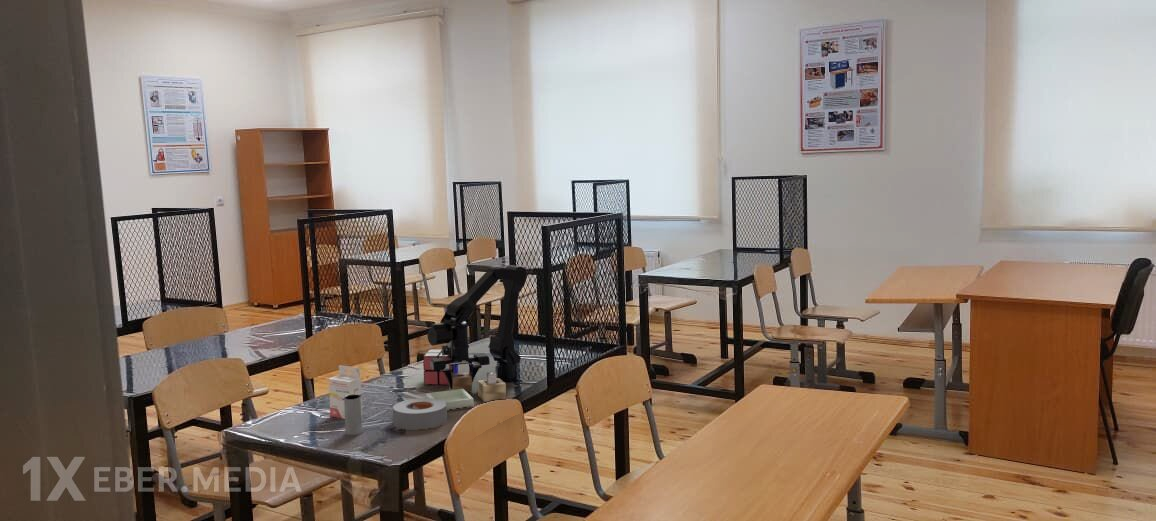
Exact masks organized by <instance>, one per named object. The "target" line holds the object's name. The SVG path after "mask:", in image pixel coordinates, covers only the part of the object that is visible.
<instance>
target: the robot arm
mask: <svg viewBox="0 0 1156 521" xmlns="http://www.w3.org/2000/svg"><path fill="white" fill-rule="evenodd" d="M527 278H528V271H527V270H526V268H525V267H523V266H520V265H514V264H512V265H511V264H509V265H506V266H505V267H500V266H499V267H497V266H496V267H495V266H489V267H488V268H487V269H486V271H485V273H484V274H483V275H481V277H479V279H478V280H477V281H476V282H475V283H474V284H473V285H472V286H471V287H470V288H469V289H468V290H467V291H466V293H465V294H463V295H461V296H458V297H457V298H455V299H454V300H453V301H451V302H449V303H448V305H447V306H446V311H445V313H444V315H443V316H442V318H441V320H440V322H438V323H431V324H430V328H429V329H428V331H427V333H426V334H427V340H428V343H429V344H430V345H431V346H432V347H433V346H440V345H441V350H442V356H444V355H447V356H448V358H451V360H444V359H443V358H433V359H431V360H430V367H431V368H432V369H433V370H434V371H437V370H440V371H441V372H444V374H445V376H446V378H447V381H448V383H449V385H448V387H449V386H450V388H451V389H452V374H451V369H450V368H449V366H451V365H458V366H459V365H466V364H468V369H469V372H468V374H469V375H470V376H471V377H472V383H473V382H474V380H475V377H476V376H477V374H478V371H479V369H482V366H489V365H490V362H491V361H490V357H489V356H488V355H487V353H484V352H483V353H475V354H474V353H473V356H471V357H470V356H469V348H470V346H469V327H473V326H474V323H473V322H472V321H471V320H470V318H471V315H473V313H474V311H475V308H476V305H477V304H478V302H479V301H481V299H482V298H483V297H484V296H485V294H487V293H488V292H489V291H490V290H491V288H492V287H494V285H495V284H496V283H497V282H498V281H499V280H502V285H503V289H504V293H503V298H502V299H503V300H502V304H501V305H502V306H501V310H500V317H499V323H498V328H497V332H496V334H494V335H491V336H490V337H489V345H488V347H487V348H489V354H490V355H491V356H492V359H493V361H494V362H496V366H495V369H494V370H495V372H496V378H499V379H501V380H502V381H503V382H504V383H507V382H515V381H519V380H520V379H519V378H518V364H520V362H521V358H522V357H521V356H520V354H519V353H517V352H516V351H515V339H514V337H513V330H514V325H515V318H516V312H517V307H518V301H519V296H520V292H521V291H522V290H523V288H524V287H525V285H526V283H527ZM444 344H447V345H444ZM448 344H449V345H448Z"/></svg>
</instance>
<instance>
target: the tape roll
mask: <svg viewBox="0 0 1156 521" xmlns="http://www.w3.org/2000/svg"><path fill="white" fill-rule="evenodd" d="M447 412H448V410H447V409H446V403H445V402H444V401H442V400H439V399H433V398H426V397H424V398H423V397H422V398H413V399H412V398H411V399H406V400H402V401H399V402H397V403H395V404H394V405H393V406H392V414H393V415H392V421H393V422H392V423H393V426H394V427H395V428H397V429H400V430H404V429H405V431H420V430H419V429H425V430H429V429H428V428H431V429H434V428H433V427H435V428H438V427H437V426H439V427H441V426H443V425H444V423H445V422H446V421H448V414H447ZM446 423H447V422H446ZM446 423H445V424H446ZM442 424H443V425H442ZM440 425H441V426H440ZM417 429H418V430H417Z"/></svg>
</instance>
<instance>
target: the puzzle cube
mask: <svg viewBox="0 0 1156 521" xmlns="http://www.w3.org/2000/svg"><path fill="white" fill-rule="evenodd" d="M433 358H443V359H444V360H451V358H448V356H447V355H444V356H442V349H429V350H428V351H427V352H426V353H425V354H424V355H423V358H422V359H423V361H422V362H423V384H424V385H425V384H426V385H425V386H428V385H427V384H432V385H431V386H445V385H446V386H449V383H448V381H447V378H446V376H445V374H444V372H441V371H440V370H437V371H434V370H433V369H432V368H431V367H430V360H431V359H433ZM449 368H450V369H451V374H456V373H459V365H451V366H449ZM433 384H434V385H433ZM435 384H436V385H435Z"/></svg>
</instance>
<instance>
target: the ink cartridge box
mask: <svg viewBox="0 0 1156 521" xmlns="http://www.w3.org/2000/svg"><path fill="white" fill-rule="evenodd" d="M348 370H350V371H352V372H350V371H348ZM338 371H339V372H338V373H339V374H338V375H334V376H332V377H330V378H328V391H329V392H328V394H329V395H328V396H329V412H330V413H329V416H330V417H332V418H339V419H344V420H345V409H344V397H345V396H348V395H360V396H361V409H362V410H363V400H362V399H363V397H362V396H363V394H362V377H361V368H360V367H354V366H348V365H347V366H346V365H342V364H340V365H338Z"/></svg>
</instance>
